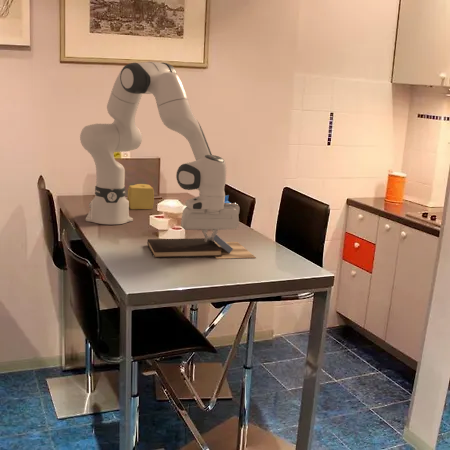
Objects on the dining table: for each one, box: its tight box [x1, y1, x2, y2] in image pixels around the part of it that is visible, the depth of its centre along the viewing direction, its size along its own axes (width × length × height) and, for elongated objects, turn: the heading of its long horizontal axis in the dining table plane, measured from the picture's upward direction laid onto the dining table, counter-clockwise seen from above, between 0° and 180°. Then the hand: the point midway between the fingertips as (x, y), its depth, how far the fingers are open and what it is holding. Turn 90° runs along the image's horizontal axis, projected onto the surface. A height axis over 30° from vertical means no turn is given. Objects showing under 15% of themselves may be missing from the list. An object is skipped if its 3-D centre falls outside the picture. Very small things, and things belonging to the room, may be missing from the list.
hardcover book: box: [146, 237, 222, 259], centre depth 209 cm, size 16×23×2 cm
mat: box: [214, 241, 256, 260], centre depth 215 cm, size 20×14×1 cm
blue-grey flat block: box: [214, 234, 233, 253], centre depth 213 cm, size 9×6×2 cm
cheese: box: [126, 183, 155, 210], centre depth 274 cm, size 10×11×10 cm
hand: (209, 241), depth 212 cm, fingers closed
